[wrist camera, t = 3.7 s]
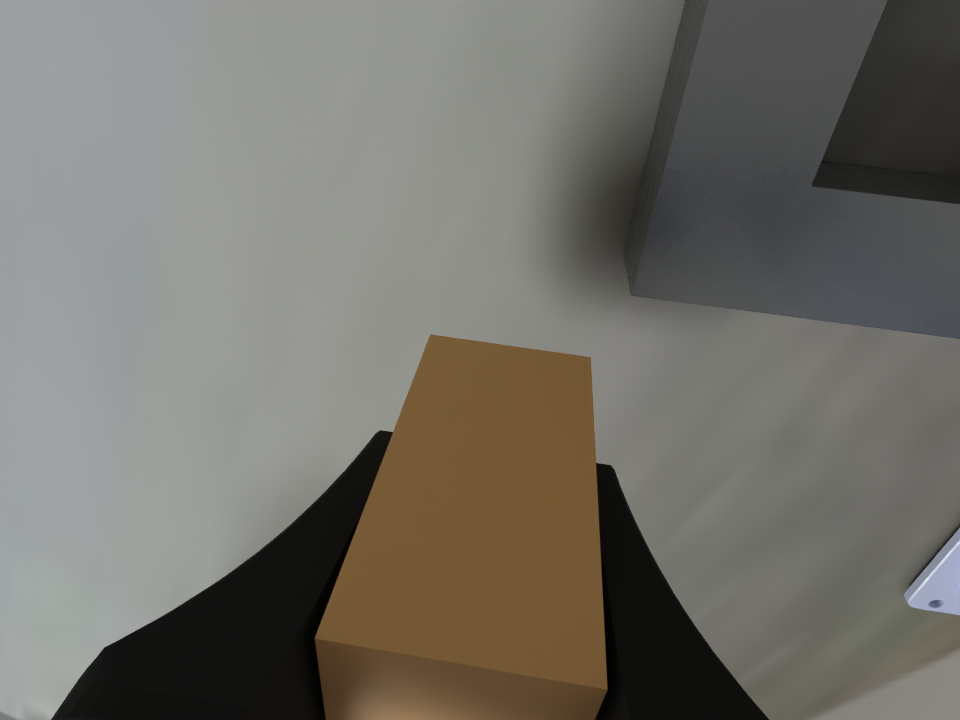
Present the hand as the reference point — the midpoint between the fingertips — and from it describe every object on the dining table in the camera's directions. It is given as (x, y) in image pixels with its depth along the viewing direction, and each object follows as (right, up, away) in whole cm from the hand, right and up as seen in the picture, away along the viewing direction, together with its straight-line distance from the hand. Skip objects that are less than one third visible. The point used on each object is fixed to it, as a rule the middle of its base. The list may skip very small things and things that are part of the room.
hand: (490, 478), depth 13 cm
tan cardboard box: (0, +1, +2) cm, 3 cm away
